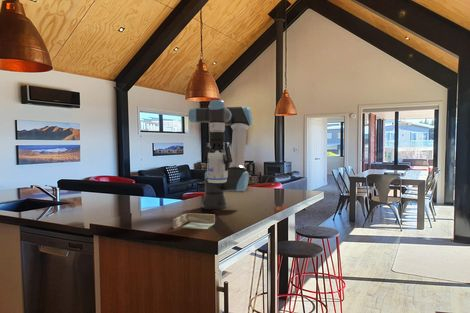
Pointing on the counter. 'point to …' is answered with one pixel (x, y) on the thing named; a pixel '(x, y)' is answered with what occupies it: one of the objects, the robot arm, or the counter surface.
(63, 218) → the counter surface
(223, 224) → the counter surface
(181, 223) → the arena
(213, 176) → the supplement tub
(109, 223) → the counter surface
